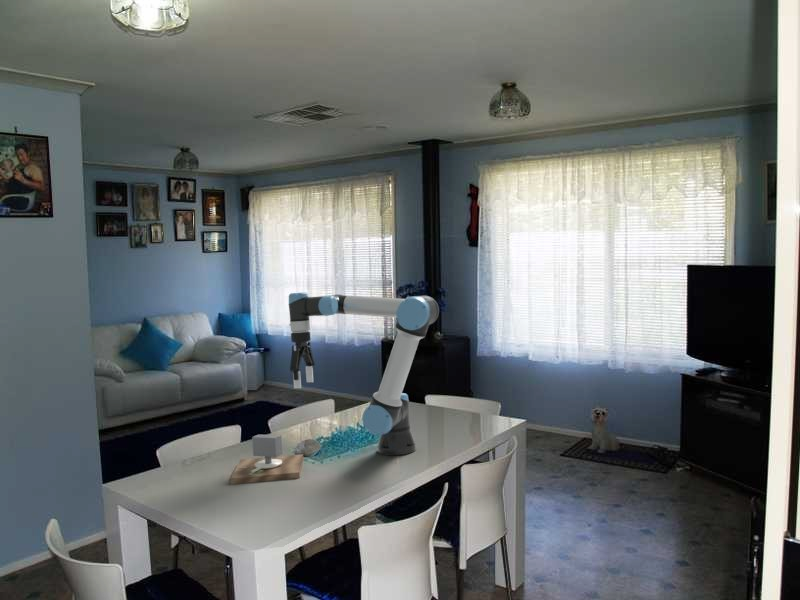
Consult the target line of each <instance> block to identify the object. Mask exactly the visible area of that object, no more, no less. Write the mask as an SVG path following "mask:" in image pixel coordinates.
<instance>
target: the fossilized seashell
mask: <svg viewBox="0 0 800 600" xmlns="http://www.w3.org/2000/svg"><path fill="white" fill-rule="evenodd" d="M321 447H323V445H322V444H321V443H320V442H319V441H318V440H316V439H311V438H310V439H309V438H308V439H305V440H302V441H300V442H298V443H297V444H296V447H295V450H294V455H300V454H303V457H312V456H311V455H312V454H314V453H315V452H317V451H319V450H320V451H321V449H322V448H321Z"/></svg>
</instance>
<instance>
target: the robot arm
mask: <svg viewBox="0 0 800 600" xmlns="http://www.w3.org/2000/svg"><path fill="white" fill-rule="evenodd" d="M287 306H288V311H289V327H290V332H291V333H290V341H291V343H294V344H295V345H292V346H291V358H290V366H289V371H290V373H291V372H292V377H293V378H292V379H293V389H302V380H301V379H302V377H301V370H300V368H301V364H302V363H301V362H302V358H303V361H304V363H305V365H306V366H305V377H306V383H314V370H313V366H315V365H316V363H315V359H314V355H313V352H312V347H311V342H310V341H311V332H310V330H311V325H310V317H321V316H323V317H328V316H334V315H336V314H339V315H354V316H355V315H357V316H367V317H368V316H372V317H380V318H381V317H384V318H396V323H395V327H394V328H395V329H396V332H397V334H396V336H395V340H394V341H393V342H394V343H393V346H392V349H391V351H390V355H389V358H388V361H387V364H386V367H385V370H384V372H383V377H382V380H381V382H380V384H379V388H378V391H376V392H374V393H373V394H372V396H371V400H370V403H369V405H368V406H367V407H366V408H365V410H363V413H362V415H361V416H362V424H363V426H364V428H365V429H366V430H367V431H368V433H370V434H372V435H375V436H379V440H378V442H377V452H378V454H380V455H384V456H402V455H407V454H411V453H413V452H415V451H416V449H417V448H416V445H417V444H416V442H415V439H414V437H413V433H412V431H411V423H410V422H411V420H410V405H409V403H410V400H409V395H408V394H407V393H404V392H403V391H404V388H405V385H406V381H407V379H408V376H409V373H410V370H411V367H412V364H413V360H414V359H415V355H416V351H417V350H418V346H419V343H420V340H421V339H424V338H425V337H426V335H427V332H428V329H429V327H430V325H432V324H434V323H435V322H436V321H437V319H438V318H439V313H440V308H439V304H438V302H437V301H436V300H435V299H434V298H433V297H431V296H428V295H423V294H422V295H414V296H407V297H406V298H399V297H398V298H395V297H376V296H359V295H343V294H332V295H322V296H308V293H307V292H293V293H292V292H291V293H289V294H288V305H287Z"/></svg>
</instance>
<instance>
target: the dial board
mask: <svg viewBox="0 0 800 600" xmlns="http://www.w3.org/2000/svg"><path fill="white" fill-rule="evenodd" d="M271 458H272V459H279V460H282V464H281V465H280V466H278V467H274V468H268V469H260V470H258V471H256V472H254V473H253V472H251V471H252V470H254V469H256V467H255V463H257V462H259V461H262V460H265V457H256V458H244V459H243V458H242V459H240V460H239V462H238V464H237V466H236V467H235V469H234V471H233V473H232V475H231V476H230V479H229V480H230V481H229V482H230V484H231V485H234V484H235V485H236V484H246V483H257V482H269V481H277V480H278V481H279V480H281V481H282V480H288V479H289V480H290V479H291V480H292V479H300V477H301V473H302V468H303V463H304V456H303V454H300V455H295V454H291V455H280V456H278V457H271Z"/></svg>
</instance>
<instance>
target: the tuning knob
mask: <svg viewBox="0 0 800 600" xmlns="http://www.w3.org/2000/svg"><path fill="white" fill-rule="evenodd" d="M251 438H252V439H251V440H252V453H253V456H254V457H264V458H265V460H262V461H259V462H257V463H255V467H256V469H254V470H252V471H251V472H253V473H254V472H256V471H258V470H260V469H268V468H274V467H278V466H280V465H281V464H282V460H279V459H272V458H271V457H278V456H283V444H282V435H281V434H277V435H276V434H257V435H254V436H252V437H251Z"/></svg>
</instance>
